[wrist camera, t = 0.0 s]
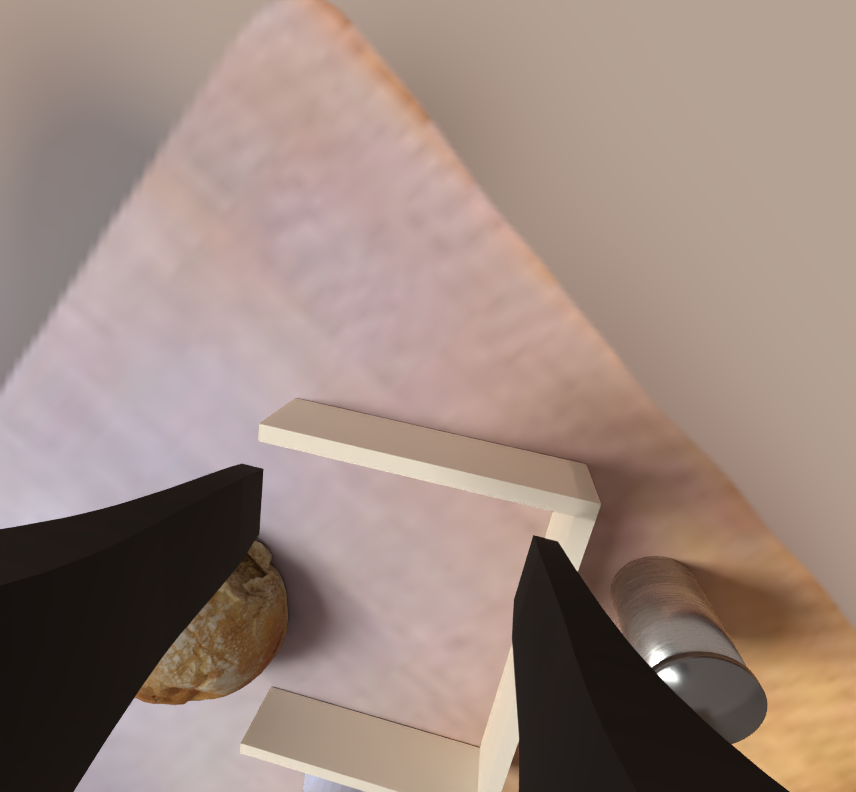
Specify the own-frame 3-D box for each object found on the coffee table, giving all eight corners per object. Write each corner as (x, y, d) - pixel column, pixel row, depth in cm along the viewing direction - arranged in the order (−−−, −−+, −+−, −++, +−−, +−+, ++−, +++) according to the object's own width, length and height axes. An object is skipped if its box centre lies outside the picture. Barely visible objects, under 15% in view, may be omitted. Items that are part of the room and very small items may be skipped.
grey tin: (682, 634, 23) (740, 760, 17) (598, 613, 23) (627, 728, 18) (714, 567, 22) (787, 679, 16) (623, 545, 22) (664, 647, 16)
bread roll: (332, 556, 30) (307, 602, 22) (246, 703, 29) (188, 809, 21) (198, 479, 29) (123, 497, 22) (107, 624, 28) (-6, 700, 21)
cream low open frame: (490, 760, 28) (487, 829, 24) (270, 695, 29) (240, 753, 26) (586, 464, 21) (601, 504, 18) (295, 398, 22) (259, 423, 19)
